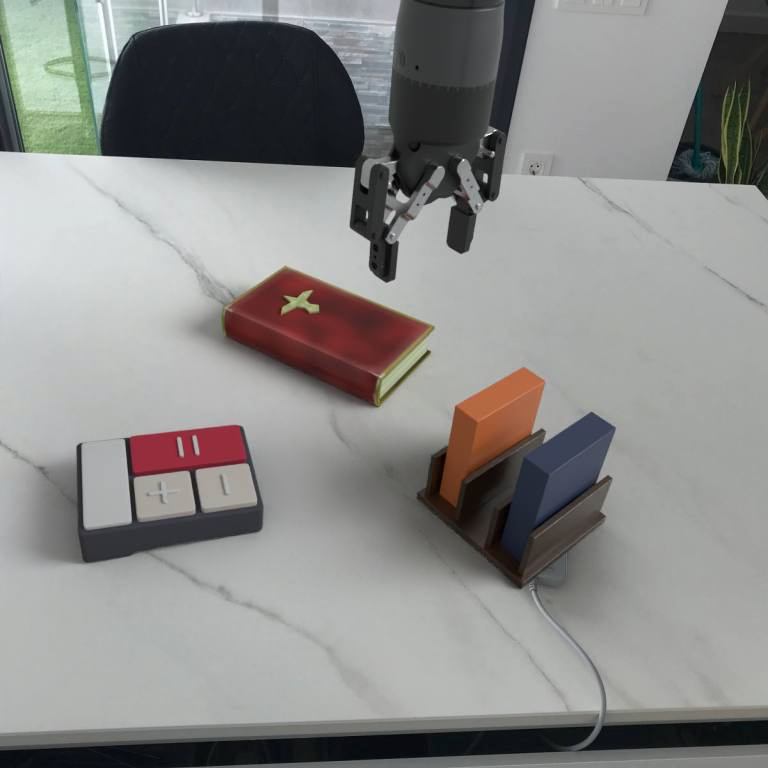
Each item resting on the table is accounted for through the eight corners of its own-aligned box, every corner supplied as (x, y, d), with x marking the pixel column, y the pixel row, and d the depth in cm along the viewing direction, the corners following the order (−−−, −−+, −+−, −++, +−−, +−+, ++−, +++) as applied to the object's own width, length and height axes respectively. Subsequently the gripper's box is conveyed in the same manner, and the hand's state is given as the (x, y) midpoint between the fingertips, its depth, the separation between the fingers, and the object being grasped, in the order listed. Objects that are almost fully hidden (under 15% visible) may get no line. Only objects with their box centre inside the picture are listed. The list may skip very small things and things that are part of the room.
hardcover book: (376, 409, 82) (379, 378, 79) (222, 337, 90) (220, 307, 87) (430, 353, 90) (435, 324, 88) (285, 292, 98) (285, 263, 95)
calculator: (264, 502, 66) (76, 529, 61) (263, 535, 69) (82, 564, 64) (243, 418, 74) (74, 436, 69) (242, 450, 77) (80, 470, 72)
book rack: (604, 521, 72) (621, 479, 69) (521, 589, 66) (535, 545, 62) (500, 444, 79) (511, 401, 76) (416, 498, 73) (423, 454, 69)
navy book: (584, 514, 72) (616, 427, 65) (521, 563, 67) (549, 475, 60) (562, 498, 73) (591, 411, 66) (499, 544, 68) (523, 456, 61)
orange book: (522, 467, 76) (546, 380, 69) (458, 510, 71) (477, 422, 64) (502, 452, 77) (523, 366, 70) (438, 493, 72) (455, 405, 65)
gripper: (405, 97, 49) (386, 310, 59) (549, 65, 57) (511, 258, 67) (333, 64, 53) (327, 268, 64) (476, 38, 61) (450, 223, 71)
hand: (421, 262), depth 65 cm, fingers open, 8 cm apart
